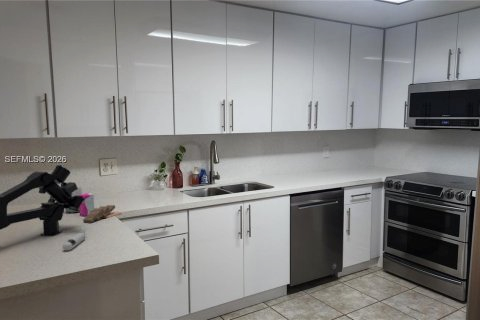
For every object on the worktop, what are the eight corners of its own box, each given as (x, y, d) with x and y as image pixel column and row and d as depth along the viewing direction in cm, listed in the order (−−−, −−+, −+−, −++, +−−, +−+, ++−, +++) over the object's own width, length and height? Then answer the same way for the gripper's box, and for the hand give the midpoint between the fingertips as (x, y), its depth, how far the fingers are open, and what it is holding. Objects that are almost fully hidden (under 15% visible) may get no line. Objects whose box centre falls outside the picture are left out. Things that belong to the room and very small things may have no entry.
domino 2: (97, 217, 183) (108, 206, 192) (89, 217, 185) (100, 206, 193) (98, 220, 184) (109, 208, 193) (90, 220, 186) (101, 208, 194)
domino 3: (104, 215, 188) (114, 205, 197) (96, 215, 189) (106, 205, 198) (105, 217, 188) (115, 207, 197) (96, 217, 190) (107, 207, 199)
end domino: (107, 216, 189) (121, 212, 198) (100, 215, 191) (114, 211, 200) (107, 219, 189) (121, 215, 198) (100, 218, 192) (114, 214, 200)
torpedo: (72, 252, 140) (71, 235, 139) (60, 252, 139) (59, 235, 139) (90, 237, 157) (89, 222, 157) (79, 237, 157) (78, 223, 157)
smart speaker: (77, 209, 210) (76, 185, 209) (86, 211, 205) (85, 186, 204) (61, 212, 203) (60, 187, 201) (70, 214, 197) (69, 189, 196)
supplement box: (89, 213, 201) (88, 192, 200) (95, 214, 197) (94, 193, 196) (79, 215, 196) (78, 194, 195) (84, 216, 192) (83, 195, 191)
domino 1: (90, 220, 179) (102, 208, 188) (82, 219, 181) (95, 208, 189) (92, 222, 180) (104, 210, 188) (83, 222, 182) (96, 210, 190)
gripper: (80, 178, 164) (100, 198, 175) (52, 176, 172) (73, 195, 183) (65, 198, 158) (87, 218, 169) (37, 195, 166) (60, 214, 177)
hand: (77, 210), depth 174 cm, fingers closed
